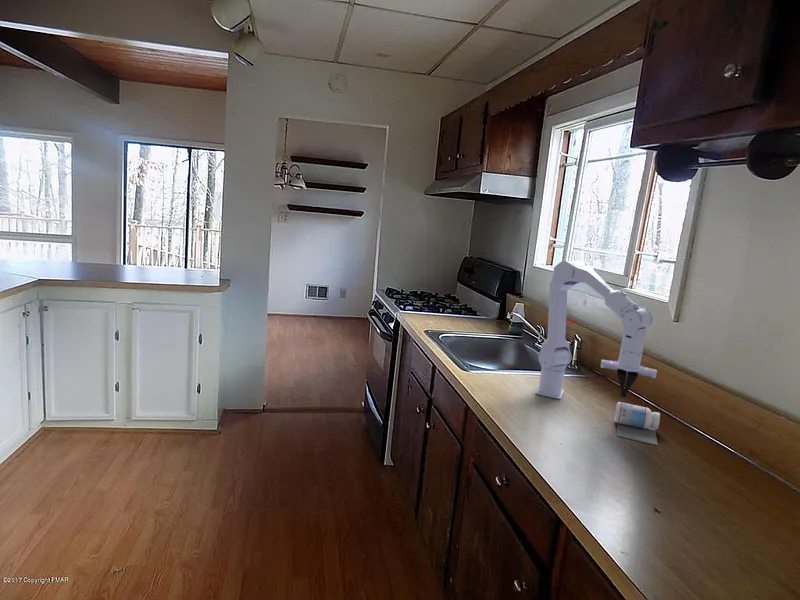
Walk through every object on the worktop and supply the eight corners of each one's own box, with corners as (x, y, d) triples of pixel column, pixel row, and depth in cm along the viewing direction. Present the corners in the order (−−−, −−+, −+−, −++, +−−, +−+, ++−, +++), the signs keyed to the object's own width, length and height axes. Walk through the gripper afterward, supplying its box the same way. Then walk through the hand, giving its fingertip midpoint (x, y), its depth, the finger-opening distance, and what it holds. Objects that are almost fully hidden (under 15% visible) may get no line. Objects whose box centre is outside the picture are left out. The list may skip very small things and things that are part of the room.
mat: (617, 411, 158) (618, 410, 157) (653, 419, 154) (653, 418, 154) (617, 436, 139) (617, 435, 139) (657, 445, 136) (657, 444, 136)
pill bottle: (613, 425, 149) (655, 435, 145) (616, 415, 144) (660, 425, 140) (615, 408, 152) (656, 417, 148) (618, 397, 148) (661, 406, 144)
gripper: (603, 348, 143) (595, 394, 146) (660, 359, 138) (651, 406, 140) (604, 343, 150) (596, 387, 152) (659, 353, 144) (650, 398, 147)
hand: (623, 396), depth 147 cm, fingers closed
